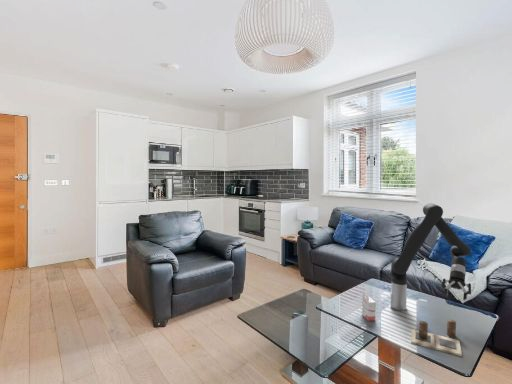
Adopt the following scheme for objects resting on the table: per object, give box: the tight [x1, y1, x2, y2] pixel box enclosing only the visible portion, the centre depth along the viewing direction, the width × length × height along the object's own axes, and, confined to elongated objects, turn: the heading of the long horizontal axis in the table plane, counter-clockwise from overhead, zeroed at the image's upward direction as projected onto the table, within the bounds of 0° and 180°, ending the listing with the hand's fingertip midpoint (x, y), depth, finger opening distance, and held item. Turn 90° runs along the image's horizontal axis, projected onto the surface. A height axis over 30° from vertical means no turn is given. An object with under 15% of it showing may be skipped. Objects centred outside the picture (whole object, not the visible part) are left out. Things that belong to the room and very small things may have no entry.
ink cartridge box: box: [361, 292, 377, 322], centre depth 175 cm, size 9×5×15 cm, turn 5°
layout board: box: [410, 328, 463, 357], centre depth 148 cm, size 22×14×1 cm, turn 59°
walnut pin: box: [446, 319, 457, 338], centre depth 155 cm, size 4×4×8 cm
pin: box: [418, 320, 429, 339], centre depth 151 cm, size 4×4×8 cm
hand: (455, 297), depth 163 cm, fingers open, 8 cm apart
